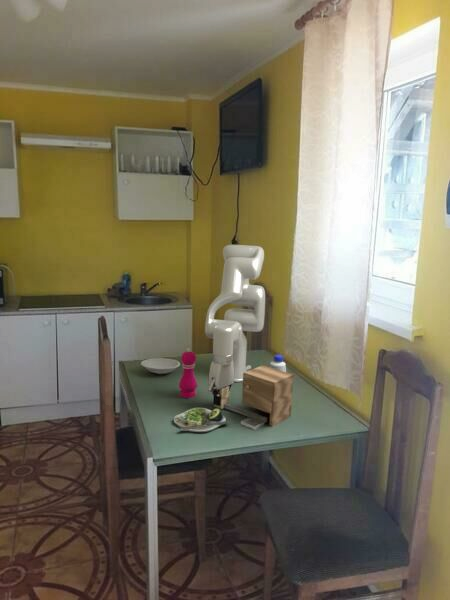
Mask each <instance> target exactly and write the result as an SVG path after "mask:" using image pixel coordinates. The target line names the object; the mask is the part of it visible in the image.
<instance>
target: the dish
mask: <svg viewBox="0 0 450 600" xmlns="http://www.w3.org/2000/svg"><path fill="white" fill-rule="evenodd" d="M140 365H141V366H143V368H145V369H146V370H147V371H149V372H151V373H154V374H158V375H163V374H169V373H171V372H173V371H174V370H176V369H177V368H178V367H180V365H181V363H180V362H179V361H178V360H176V359H172V358H166V357H165V358H164V357H161V358H160V357H158V358H157V357H156V358H154V357H153V358H148V359H147V358H146V359H144V360H142V361H141V362H140Z"/></svg>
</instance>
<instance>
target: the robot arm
mask: <svg viewBox="0 0 450 600" xmlns="http://www.w3.org/2000/svg"><path fill="white" fill-rule="evenodd" d="M222 255H223V260H224V262H223V263H224V265H223V273H222V280H221V289H220V293H219V295H218V296H217V297H216V298H215V299H214V300H213V301H212V302H211V303H210V305H209V307H208V309H207V311H206V312H207V313H206V316H205V317H206V318H205V323H204V324H205V326H204V331H205V332H204V333H205V335H206V337H207V338H208V339H213V340H212V361H211V363H210V366H209V374H208V392H210V393H211V395H212V396H213V398H212V400H213V401H212V402H213V405H214V404H215V405H217V406H220V405H221V396H220V391H221V388H223V387H226V386H229V393H230V392H231V387H232V386H233V384H234V383H239V382H240V383H241V382H243V373H244V372H247V371H249V370H252V366H251V365H250V364H249V365H246V363H247V349H248V347H247V346H248V345H247V344H248V343H247V342H248V339H247V336H246V334H244V332H255V333H257V332H261V331H263V329H264V325H265V314H266V313H265V311H266V291H265V288H264V286H262V285H259V284H257V285H256V284H250V280H256V279H258V278H259V276H260V274H261V271H262V269H263V264H264V260H265V251H264V249H263V248H262V246H259V245H246V244H245V245H243V244H228V245H225V246H224V247H223V249H222ZM229 303H230V304H231V305H232V306H237V307H238V306H239V307H248V308H253V309H247V308H237V307H234V308H229V309H227V310H226V311H225V313H224V319H215V315H216V312H217V311H218V310H219V309H220V308H221V307H223V306H224V305H227V304H229ZM216 389H217V390H218V391H216ZM229 399H230V396H229V397H228V403H229Z"/></svg>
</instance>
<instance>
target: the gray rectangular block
mask: <svg viewBox="0 0 450 600" xmlns="http://www.w3.org/2000/svg"><path fill="white" fill-rule="evenodd" d="M264 422H265V421H263V420H260V419H257V418H255V417H252V416H251V417H246V418H245V419H243V420H240V425H241V426H243V427H245V428H248V429H251V430H254V431H255V430H257V429H259V428H260V427H262V426H264V425H265V423H266V422H265V423H264Z"/></svg>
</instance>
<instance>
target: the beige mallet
mask: <svg viewBox="0 0 450 600" xmlns="http://www.w3.org/2000/svg"><path fill="white" fill-rule="evenodd" d="M216 391H218V390H217V389H216ZM220 396H221V405H220V406H217V405H215V404H213V407H215V408H218V409H220V410H223V409H225V410H229V411H232V412H234V413H237V414H241V415H243V416H245V417H247V418H249V417H251V416H252V417H255V418H257V419H260V420H263V421H265V422H264V424H265V423H267V422H268V417H267V416H264V415H261V414H258V413H255V412H253V411H250V410H246V409H244V408H241V407H239V406H237V405H233V404H230V403H229V402H228V397H229V398H230V392H229V386H226V387H223V388H221V391H220Z"/></svg>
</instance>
